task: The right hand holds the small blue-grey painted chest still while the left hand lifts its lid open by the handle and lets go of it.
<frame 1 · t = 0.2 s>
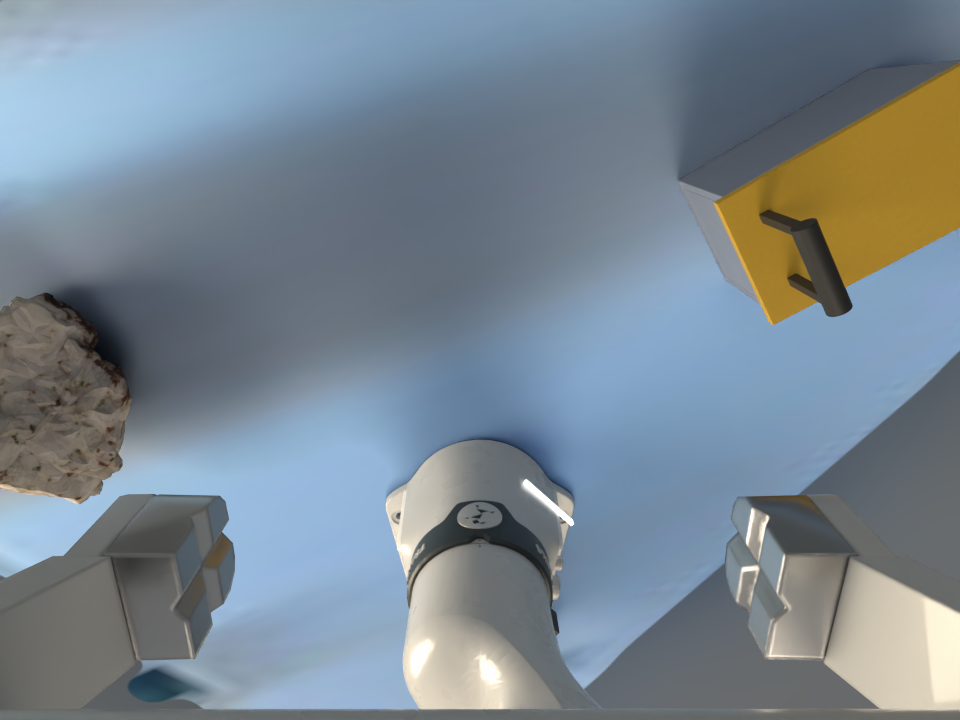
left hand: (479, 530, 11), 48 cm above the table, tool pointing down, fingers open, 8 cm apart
rock: (70, 377, 61), on the table
chest: (793, 180, 55), on the table
lid: (891, 207, 41), point 15 cm above the table, hinge at 0.0°
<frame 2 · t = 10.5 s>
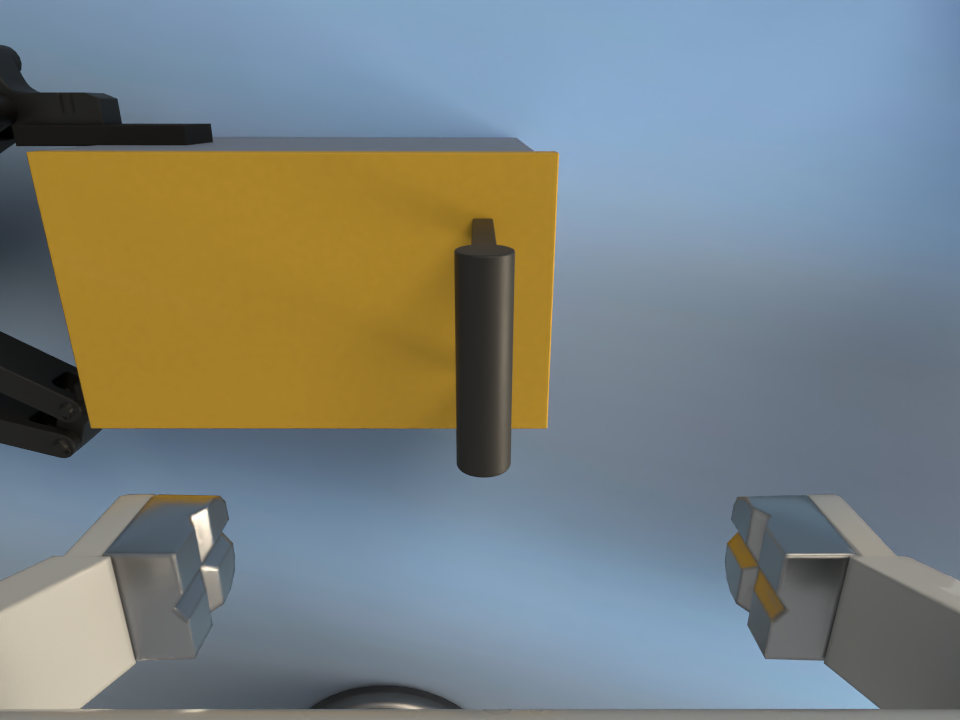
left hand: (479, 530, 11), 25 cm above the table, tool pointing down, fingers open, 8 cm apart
chest: (355, 239, 34), on the table, touching right hand
lid: (283, 327, 20), point 15 cm above the table, hinge at 0.0°
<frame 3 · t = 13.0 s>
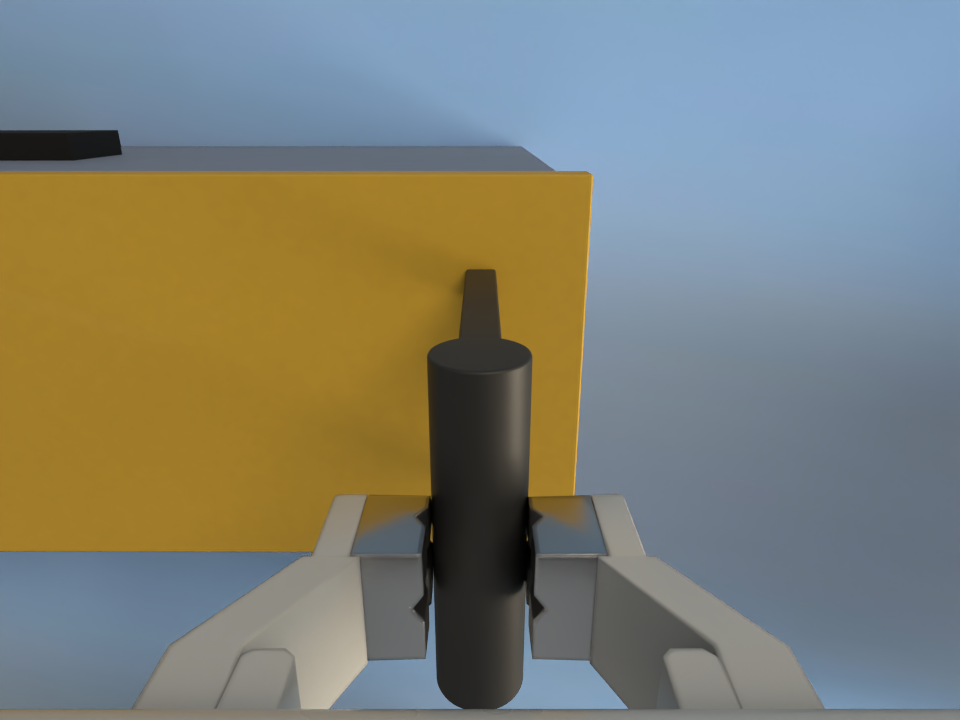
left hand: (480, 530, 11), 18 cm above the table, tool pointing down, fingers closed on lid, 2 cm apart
chest: (320, 272, 27), on the table, touching right hand
lid: (177, 441, 13), point 15 cm above the table, hinge at 0.9°, touching left hand
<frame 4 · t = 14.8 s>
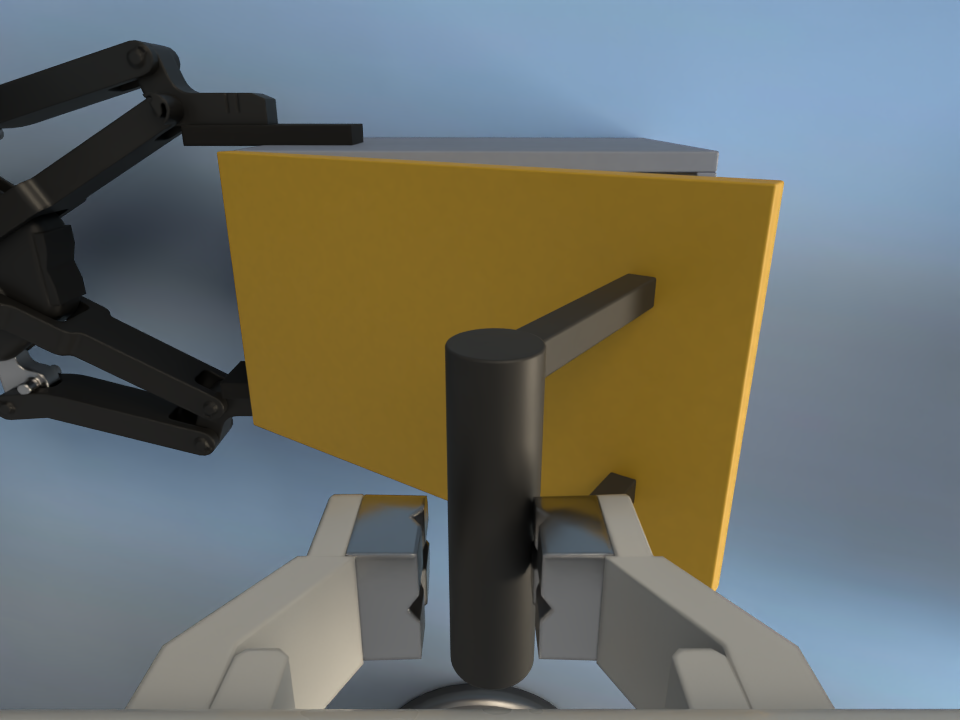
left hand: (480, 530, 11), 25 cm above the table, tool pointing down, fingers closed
right hand: (365, 264, 28), fingers closed on chest, 10 cm apart
chest: (476, 238, 34), on the table, touching right hand
lid: (353, 377, 16), point 19 cm above the table, hinge at 34.2°, touching left hand
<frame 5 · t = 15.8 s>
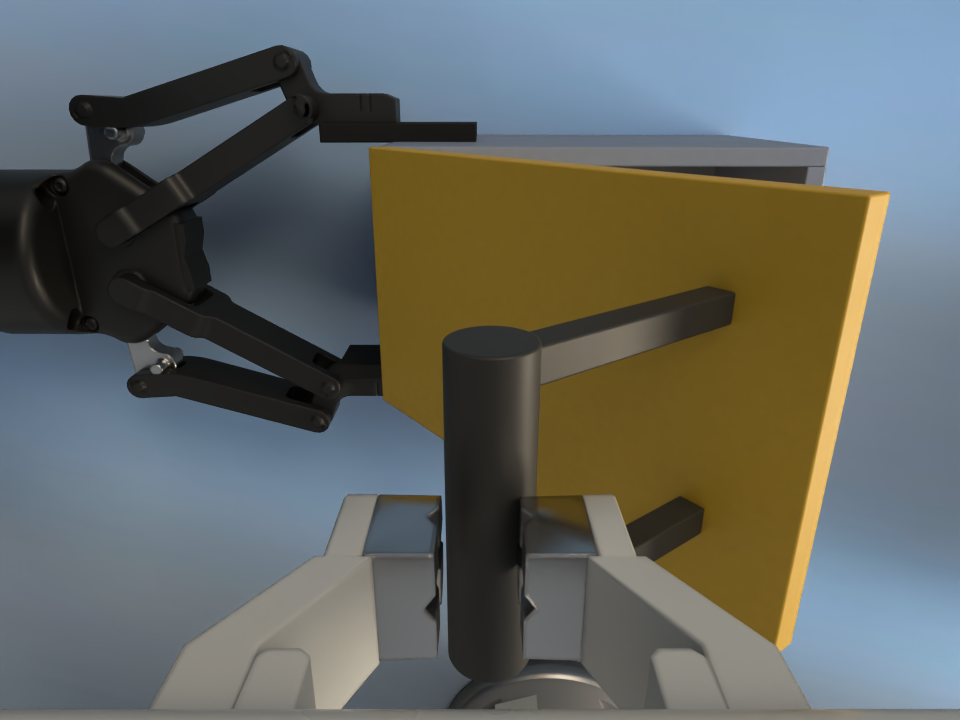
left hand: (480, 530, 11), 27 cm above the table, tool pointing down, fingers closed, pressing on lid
right hand: (476, 253, 30), fingers closed on chest, 10 cm apart
chest: (565, 230, 36), on the table, touching right hand
lid: (436, 364, 17), point 20 cm above the table, hinge at 51.9°, touching left hand
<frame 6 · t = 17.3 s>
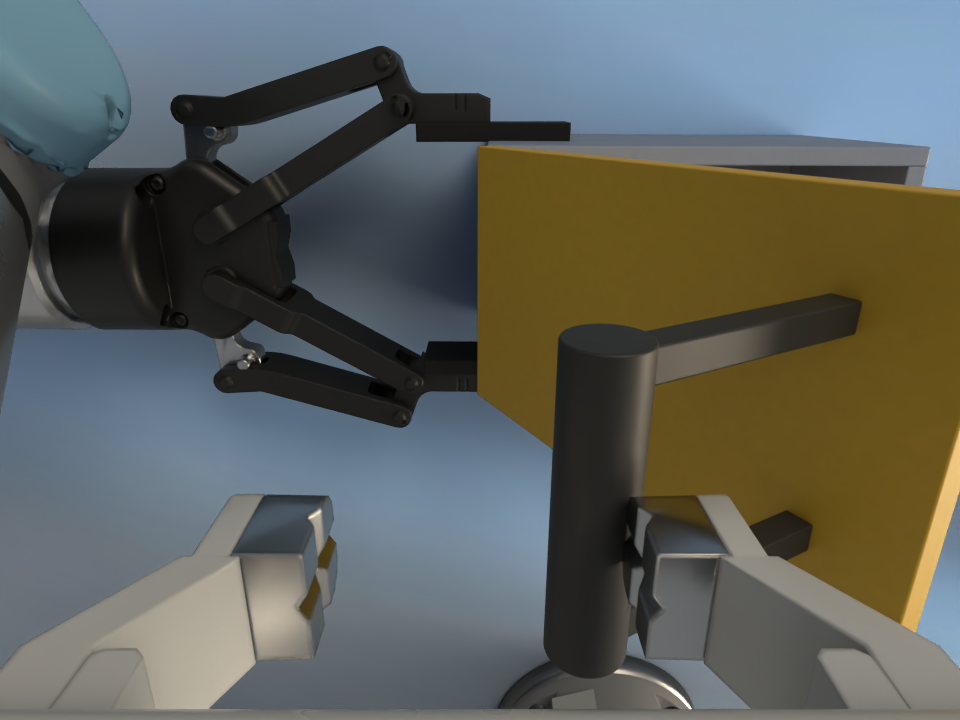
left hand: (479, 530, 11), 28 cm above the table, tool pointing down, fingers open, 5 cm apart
right hand: (561, 251, 31), fingers closed on chest, 10 cm apart
chest: (636, 229, 37), on the table, touching right hand
lid: (537, 361, 18), point 20 cm above the table, hinge at 59.4°, touching left hand
when the right hand's fingers open (6 cm above the table, at t = 21.0 s): chest stays where it is, on the table.
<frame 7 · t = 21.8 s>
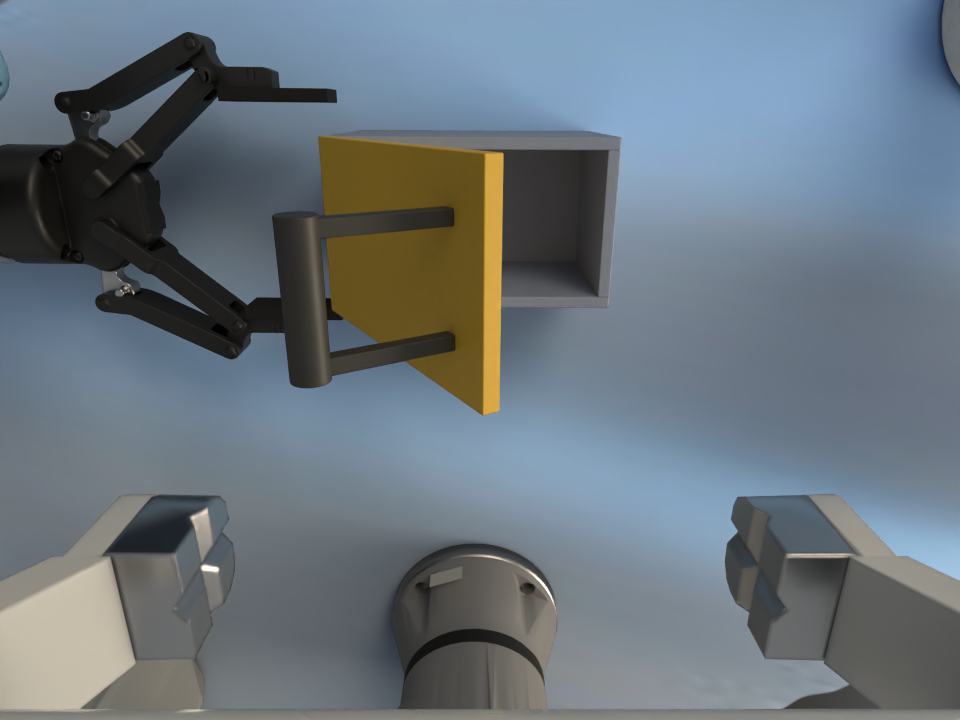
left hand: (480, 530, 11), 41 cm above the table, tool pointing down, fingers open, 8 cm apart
right hand: (340, 208, 43), fingers open, 13 cm apart
vase: (169, 669, 65), on the table
chest: (475, 201, 49), on the table
lid: (326, 260, 30), point 20 cm above the table, hinge at 58.2°
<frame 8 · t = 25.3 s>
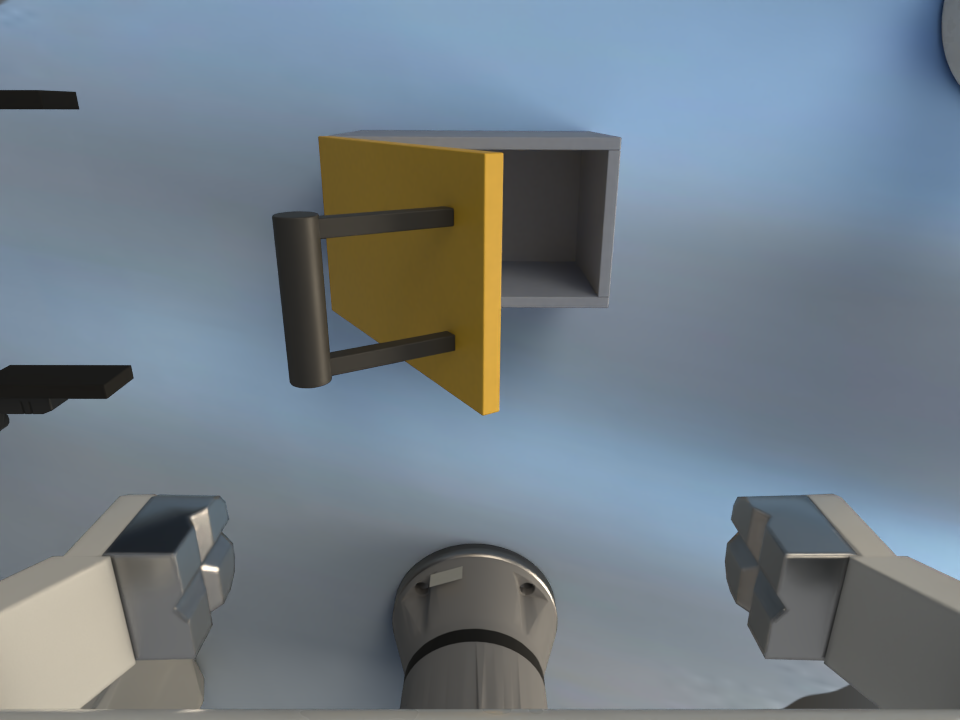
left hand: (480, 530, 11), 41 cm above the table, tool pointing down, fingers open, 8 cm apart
vase: (169, 669, 65), on the table
chest: (475, 201, 49), on the table
lid: (326, 260, 30), point 20 cm above the table, hinge at 58.2°
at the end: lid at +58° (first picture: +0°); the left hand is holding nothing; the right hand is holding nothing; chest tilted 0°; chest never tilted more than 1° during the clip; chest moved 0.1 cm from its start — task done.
